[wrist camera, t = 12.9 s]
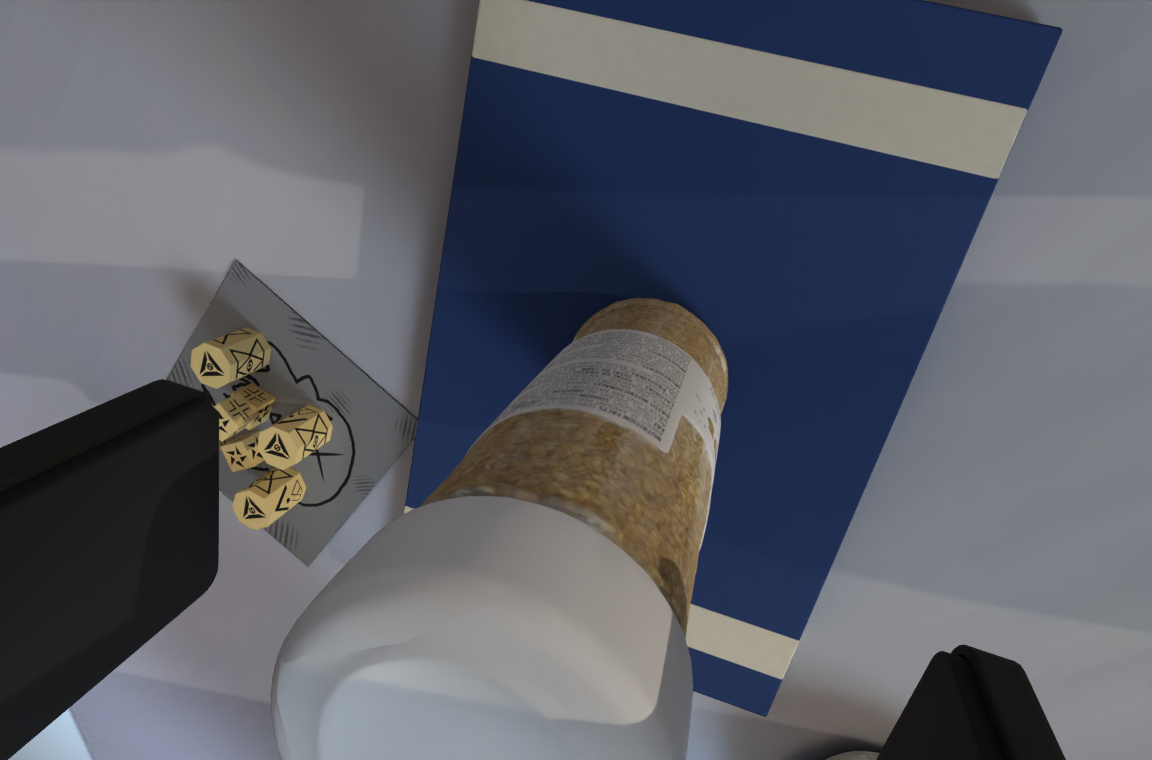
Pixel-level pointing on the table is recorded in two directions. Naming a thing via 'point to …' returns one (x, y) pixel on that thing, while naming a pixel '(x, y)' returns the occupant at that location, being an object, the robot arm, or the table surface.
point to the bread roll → (855, 756)
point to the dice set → (289, 416)
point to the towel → (726, 247)
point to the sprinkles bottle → (531, 573)
